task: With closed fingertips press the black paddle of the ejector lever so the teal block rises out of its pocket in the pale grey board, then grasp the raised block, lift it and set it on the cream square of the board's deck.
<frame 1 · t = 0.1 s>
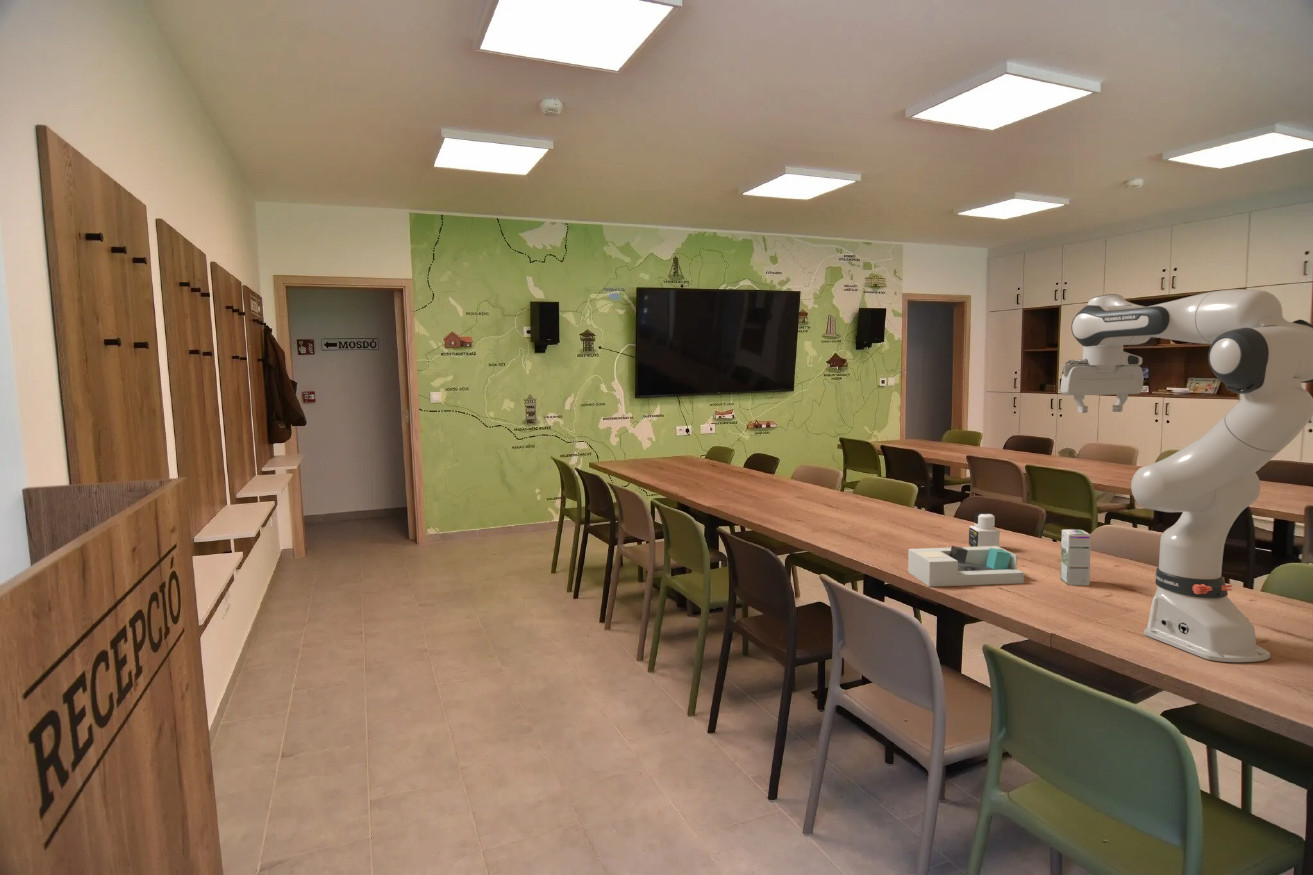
hand: (1100, 412, 181), 48 cm above the table, fingers open, 8 cm apart
medicine bottle: (983, 549, 230), on the table
ejector lever: (979, 560, 200), point 5 cm above the table, hinge at 11.5°, touching teal block
syrup box: (1074, 583, 193), on the table
pocket board: (972, 577, 200), on the table
teal block: (996, 568, 200), point 2 cm above the table, tilted 12°, touching ejector lever
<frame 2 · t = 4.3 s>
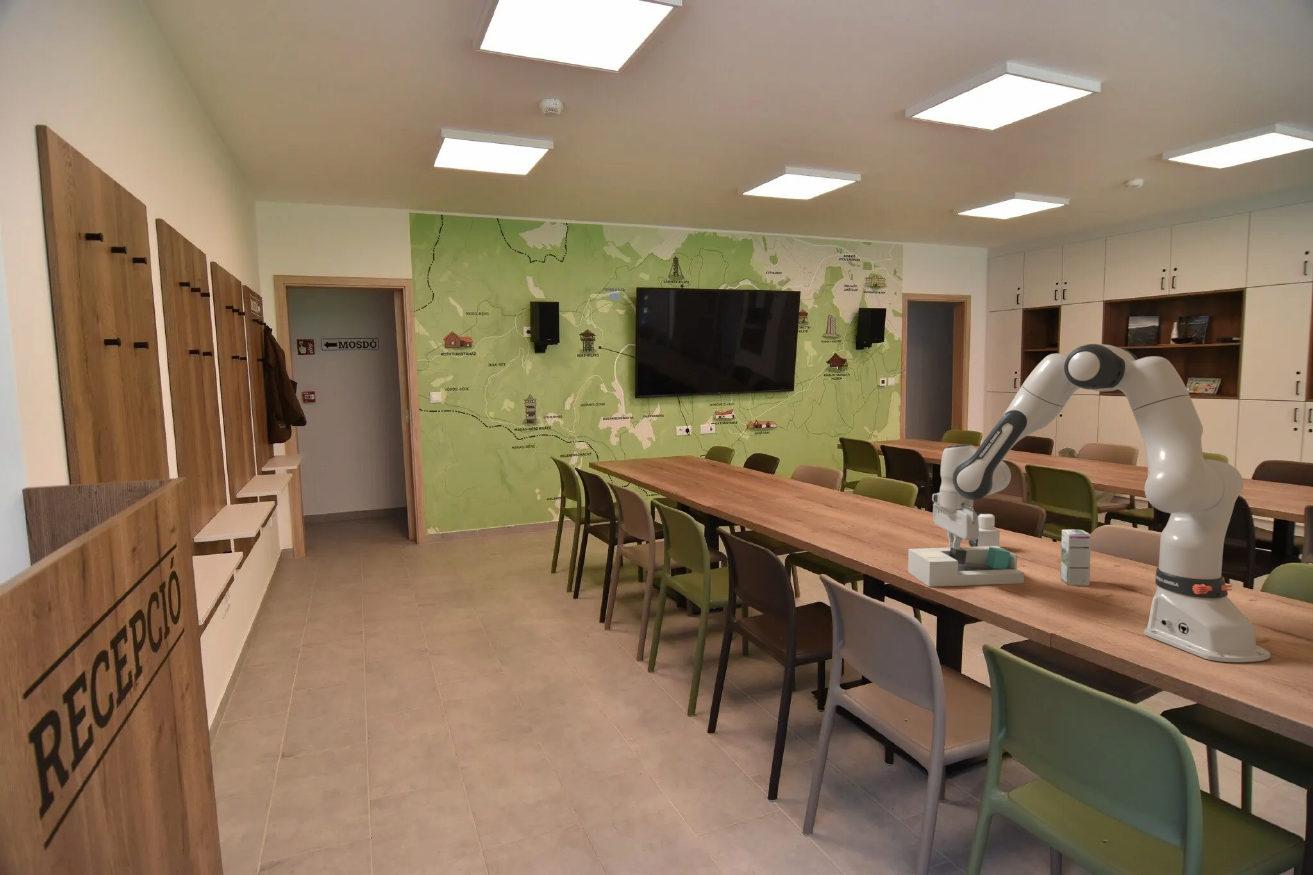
hand: (954, 548, 199), 9 cm above the table, fingers closed, pressing on ejector lever
ejector lever: (979, 559, 200), point 5 cm above the table, hinge at 8.6°, touching gripper, teal block
everything else where it was.
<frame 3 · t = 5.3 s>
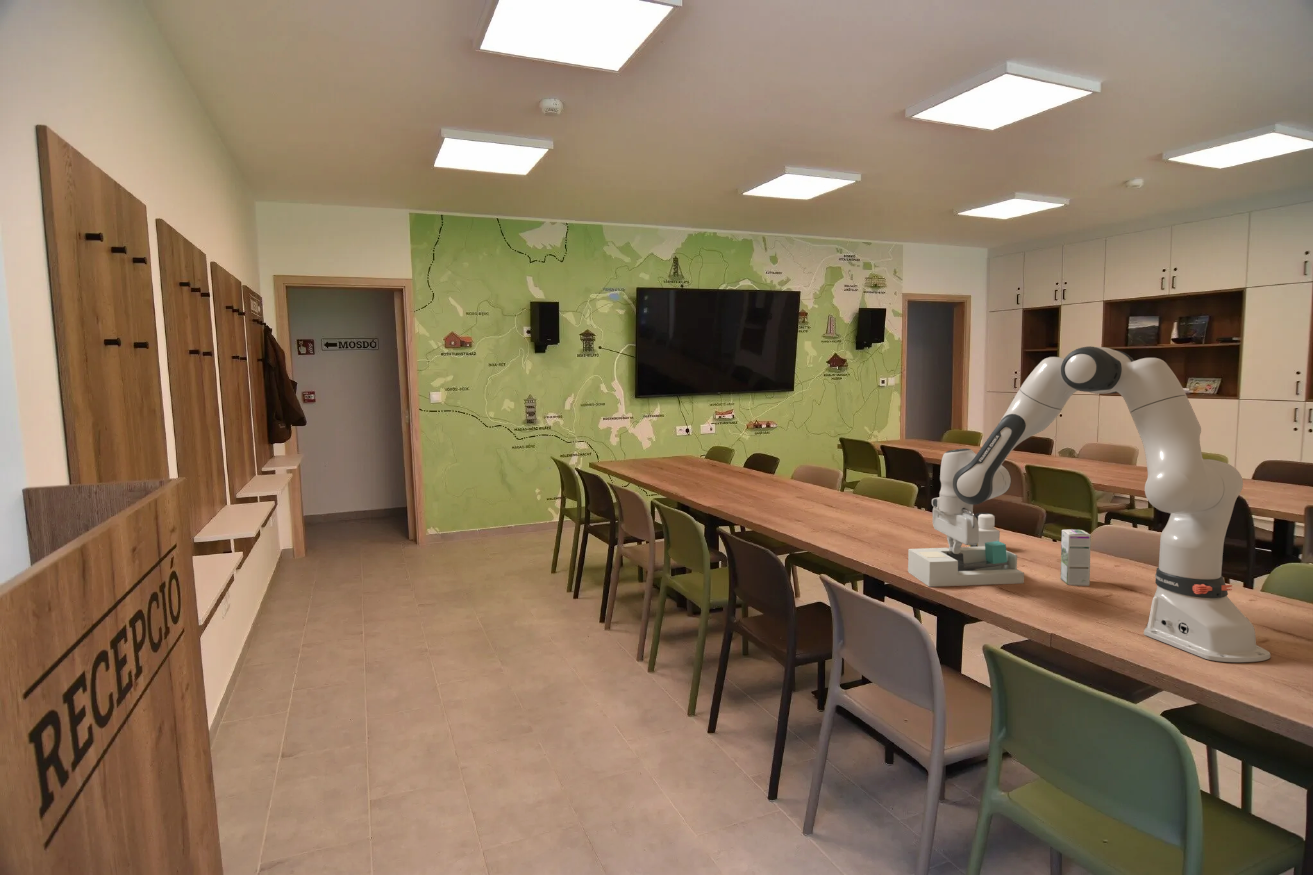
hand: (954, 552, 199), 7 cm above the table, fingers closed
ejector lever: (977, 558, 200), point 5 cm above the table, hinge at -5.6°, touching teal block
teal block: (996, 561, 200), point 4 cm above the table, tilted 6°, touching ejector lever
everything else where it was.
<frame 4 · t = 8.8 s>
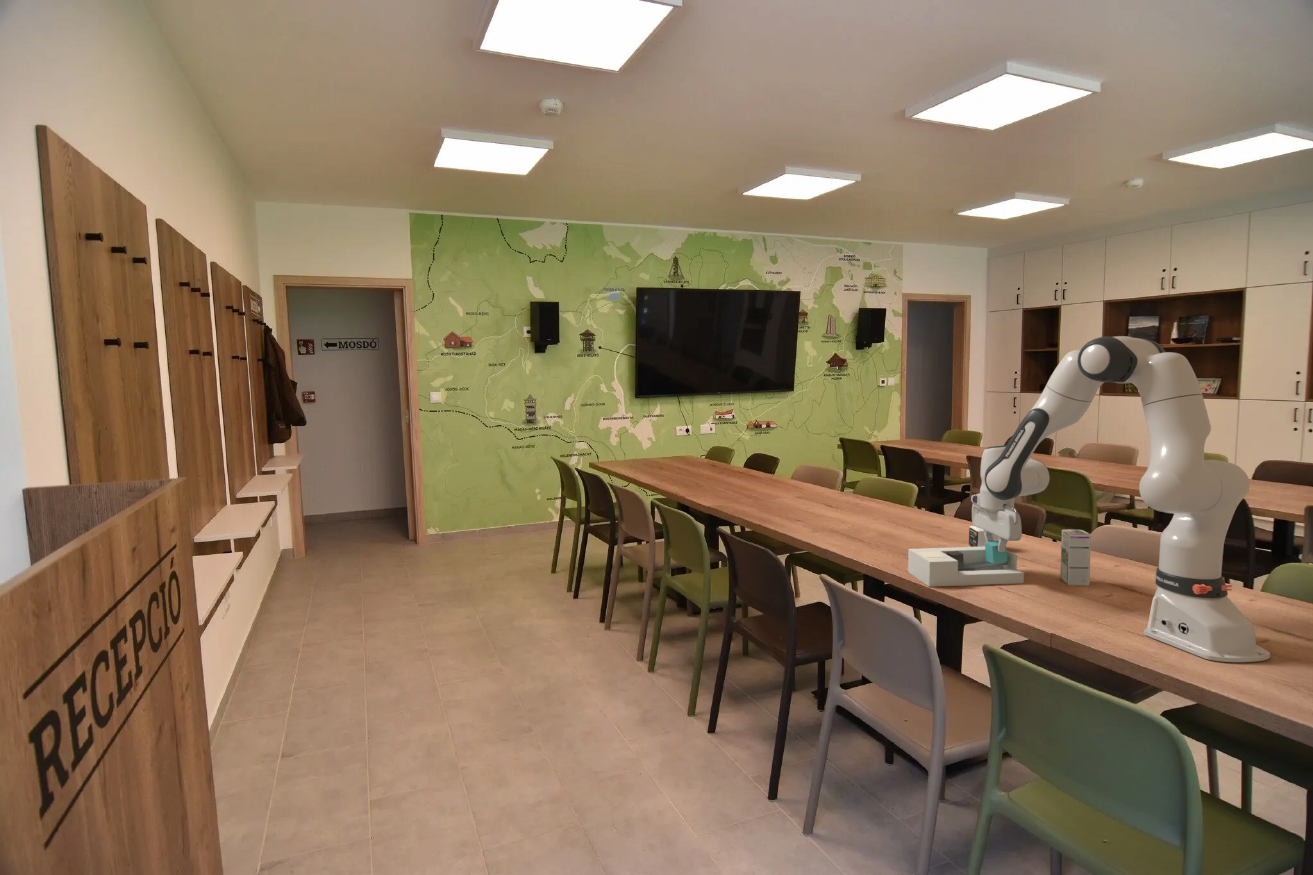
hand: (995, 548, 200), 8 cm above the table, fingers closed on teal block, 4 cm apart
teal block: (996, 561, 200), point 4 cm above the table, tilted 6°, touching ejector lever, gripper
everything else where it was.
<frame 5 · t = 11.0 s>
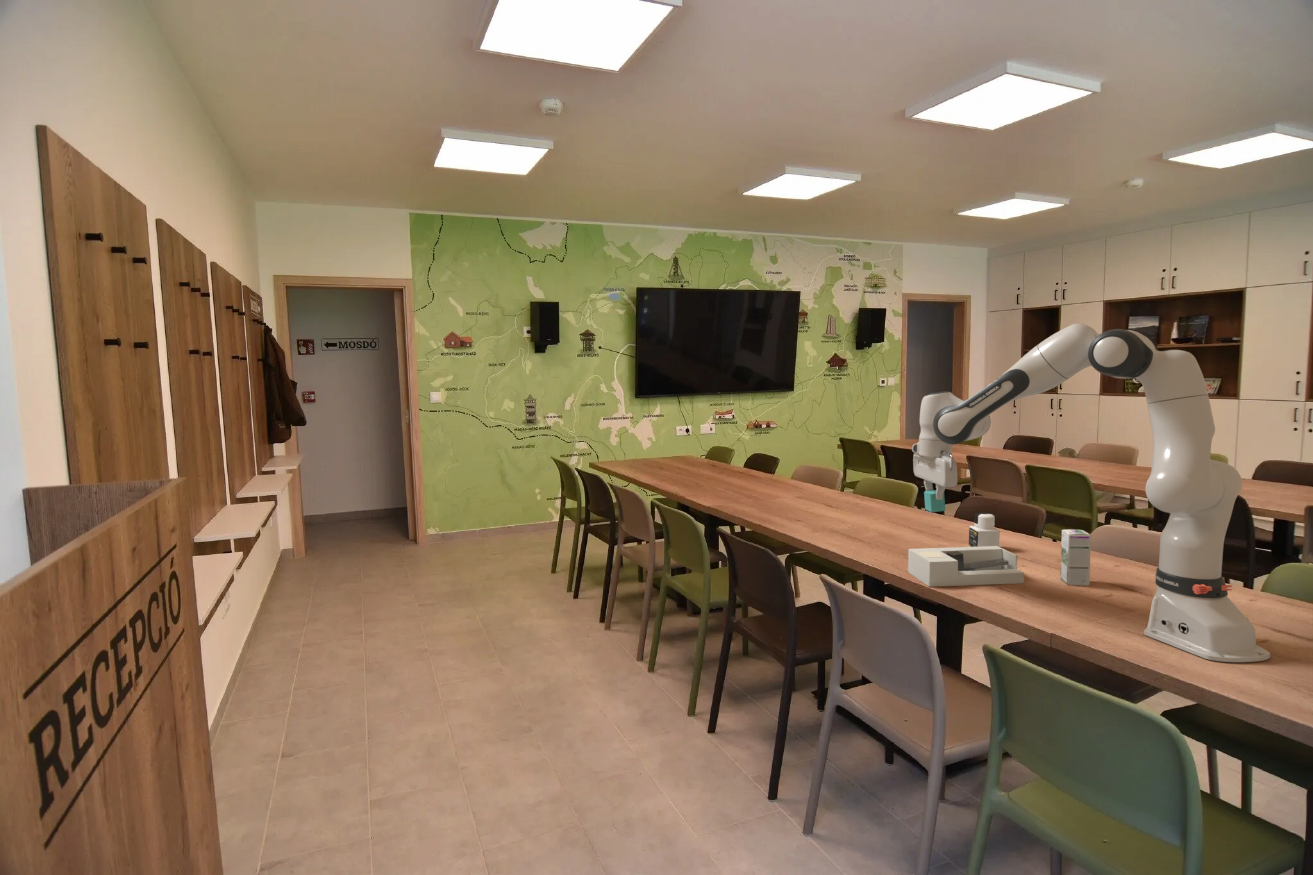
hand: (934, 497, 197), 24 cm above the table, fingers closed on teal block, 4 cm apart
ejector lever: (977, 558, 200), point 5 cm above the table, hinge at -5.7°
teal block: (935, 509, 198), point 20 cm above the table, tilted 5°, touching gripper
everything else where it was.
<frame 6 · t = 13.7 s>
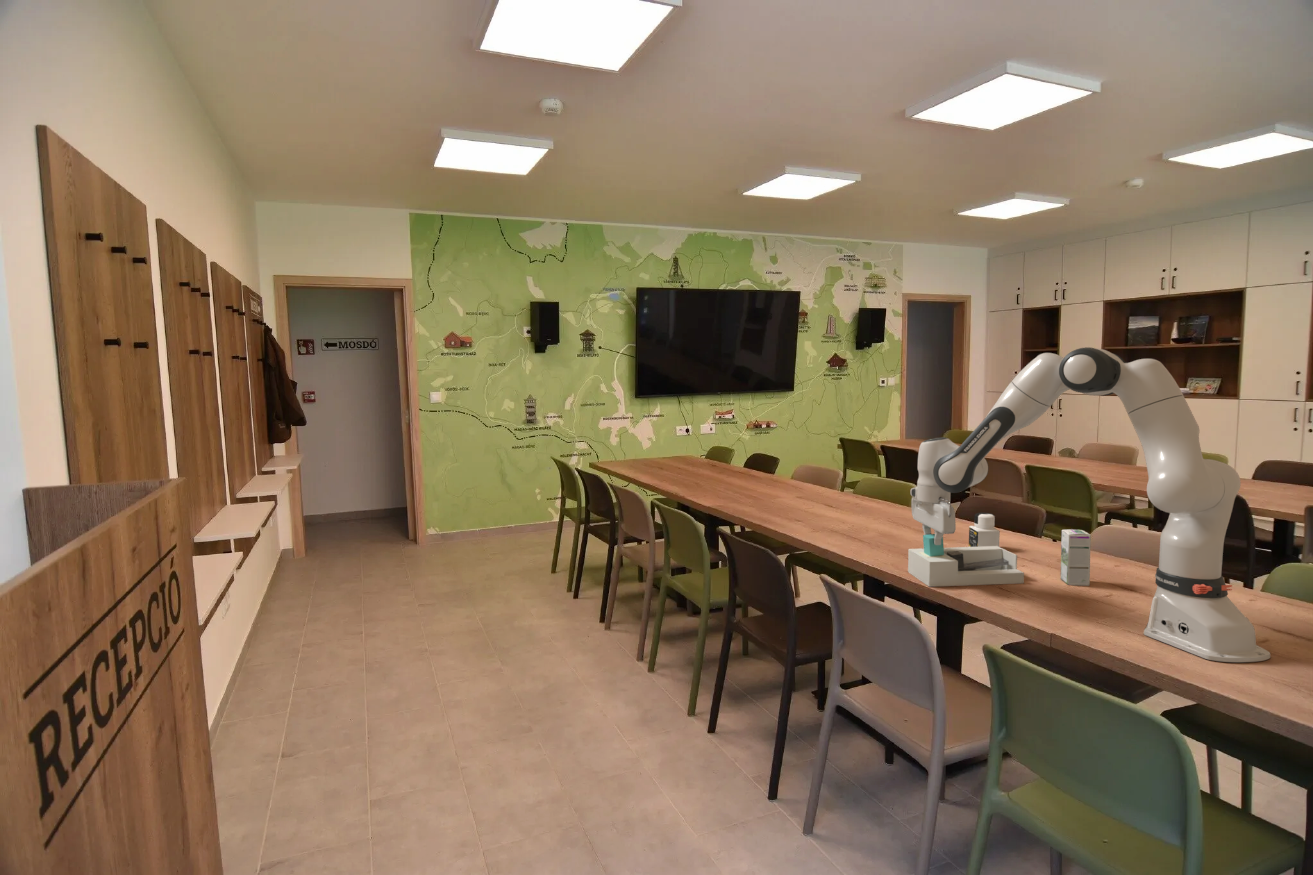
hand: (932, 542, 198), 11 cm above the table, fingers closed on teal block, 4 cm apart
teal block: (933, 553, 199), point 7 cm above the table, touching gripper, pocket board
everything else where it was.
when the fingers open (11 cm above the table, at t = 13.8 s): teal block stays where it is, resting on pocket board.
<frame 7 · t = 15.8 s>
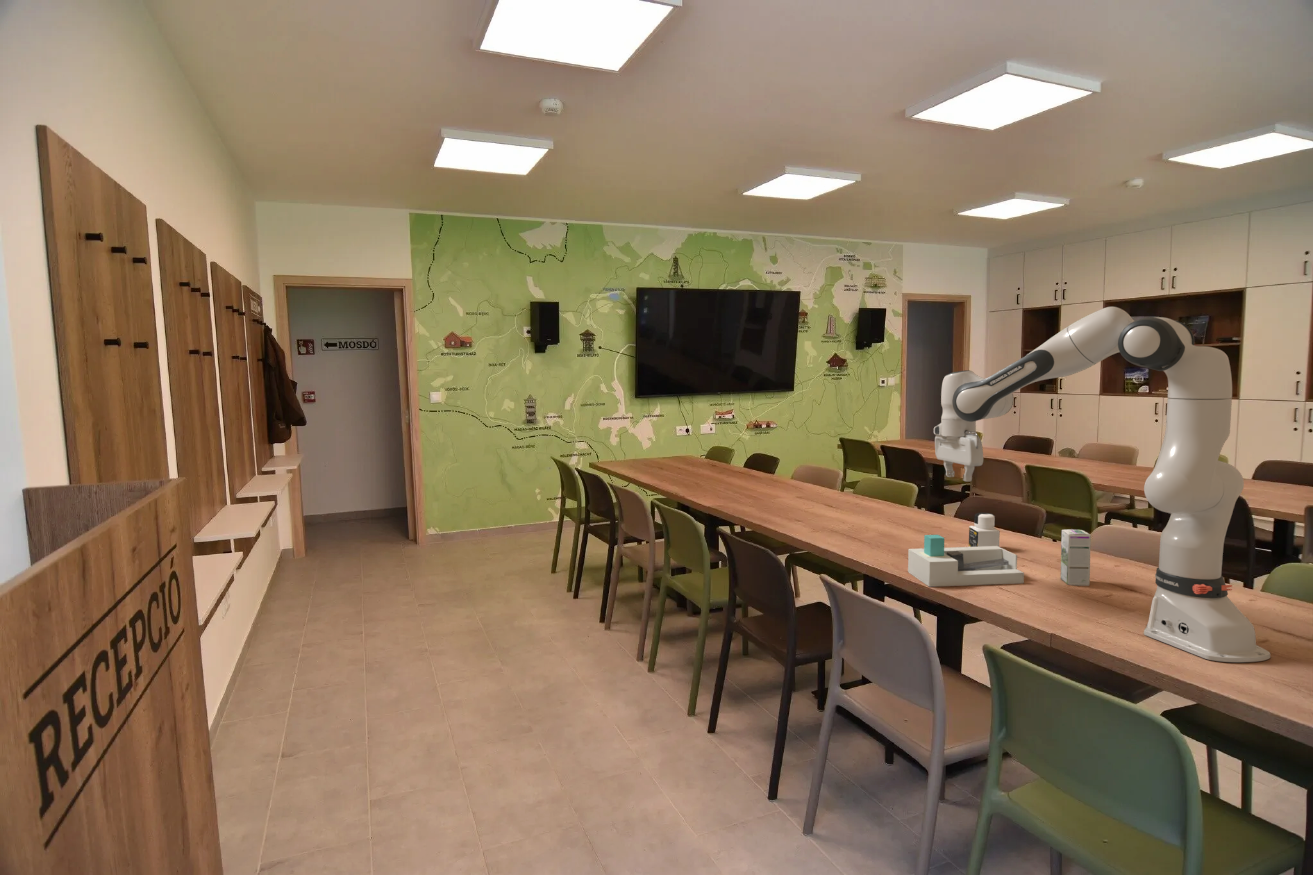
hand: (958, 478, 194), 29 cm above the table, fingers open, 8 cm apart
teal block: (933, 554, 199), point 7 cm above the table, touching pocket board
everything else where it was.
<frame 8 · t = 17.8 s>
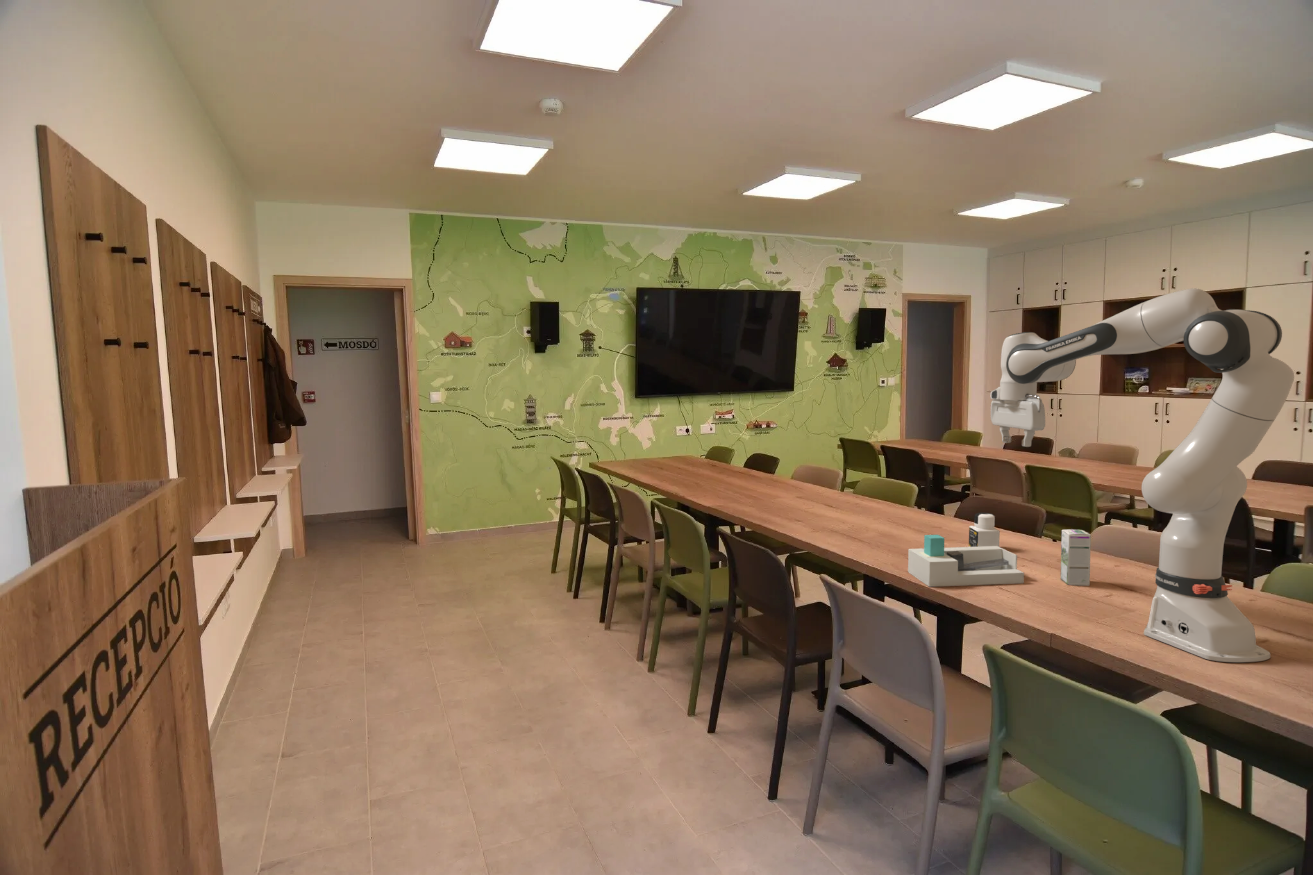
hand: (1016, 444, 189), 39 cm above the table, fingers open, 8 cm apart
nothing on the table moved.
at the end: teal block inside the target area on the pocket board (0.5 cm from its centre), point 7.1 cm above the pocket board's base; teal block tilted 0°; the gripper is holding nothing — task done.
